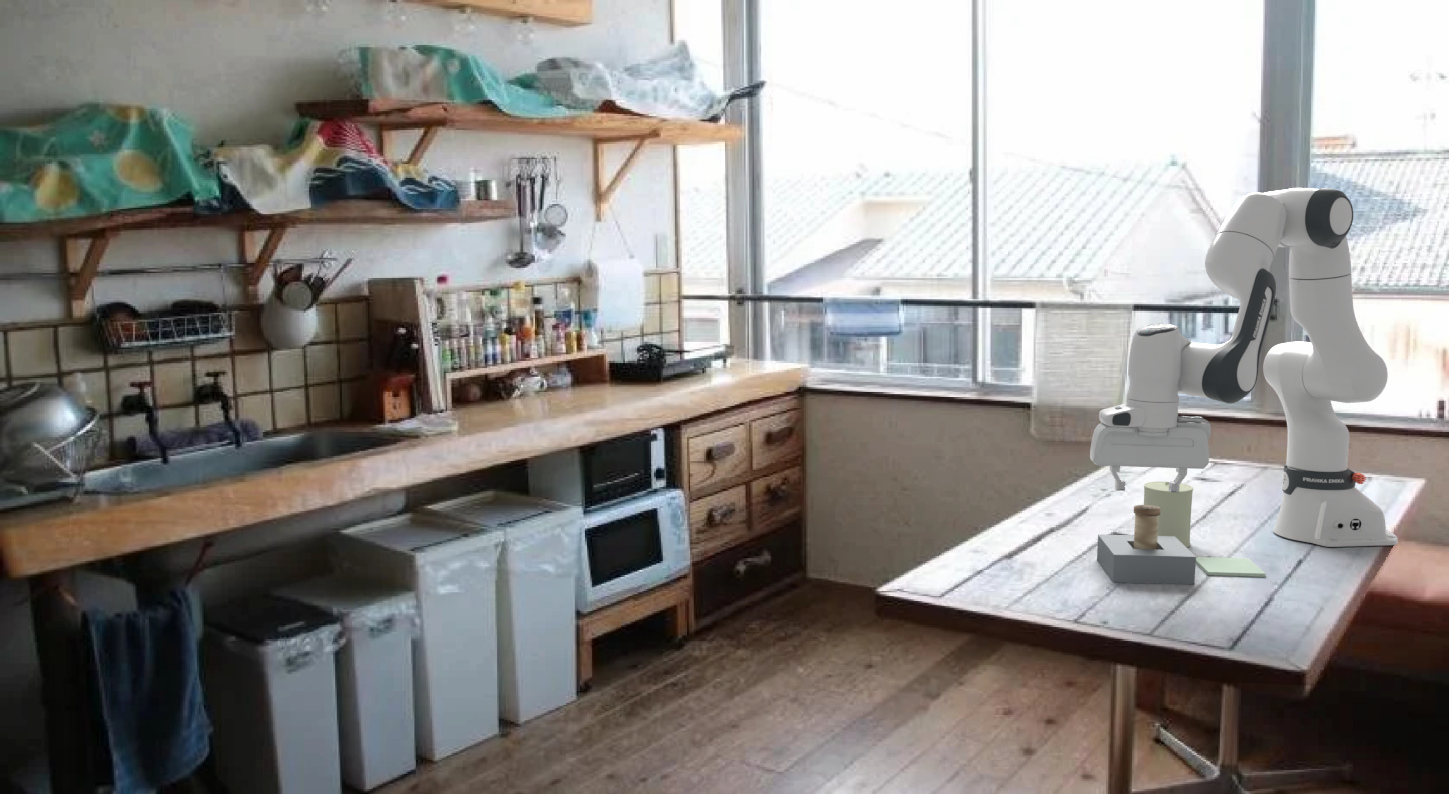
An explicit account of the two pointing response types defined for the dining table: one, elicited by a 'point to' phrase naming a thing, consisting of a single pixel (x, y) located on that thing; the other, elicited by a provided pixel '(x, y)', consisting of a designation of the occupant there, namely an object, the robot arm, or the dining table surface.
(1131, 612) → the dining table surface
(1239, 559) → the mat
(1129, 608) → the dining table surface
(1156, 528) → the plug
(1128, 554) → the socket
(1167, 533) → the can
